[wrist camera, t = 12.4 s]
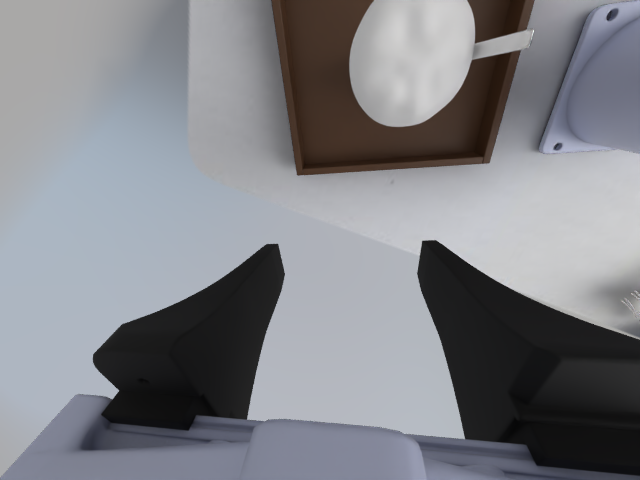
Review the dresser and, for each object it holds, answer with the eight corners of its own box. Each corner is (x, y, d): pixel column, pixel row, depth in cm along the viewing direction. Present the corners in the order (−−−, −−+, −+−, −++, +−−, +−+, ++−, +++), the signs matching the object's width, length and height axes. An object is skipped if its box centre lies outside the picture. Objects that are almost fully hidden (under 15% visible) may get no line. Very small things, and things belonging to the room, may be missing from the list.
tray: (536, -85, 12) (566, -114, 10) (476, 156, 18) (489, 163, 17) (273, -34, 14) (263, -51, 12) (301, 168, 20) (297, 175, 19)
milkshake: (427, 107, 16) (508, 124, 8) (350, 116, 17) (351, 139, 9) (437, 21, 14) (566, -83, 6) (348, 36, 15) (345, -37, 6)
